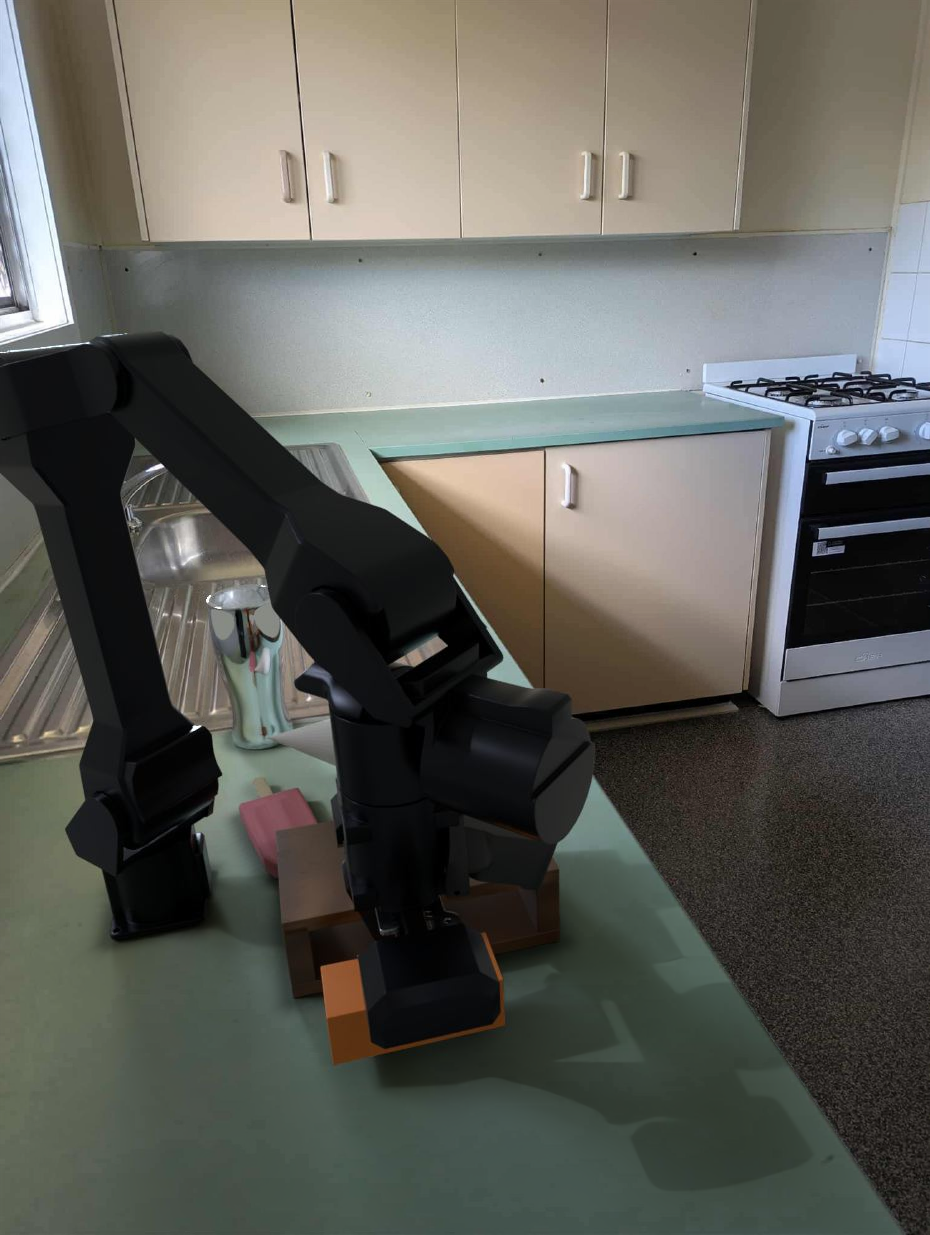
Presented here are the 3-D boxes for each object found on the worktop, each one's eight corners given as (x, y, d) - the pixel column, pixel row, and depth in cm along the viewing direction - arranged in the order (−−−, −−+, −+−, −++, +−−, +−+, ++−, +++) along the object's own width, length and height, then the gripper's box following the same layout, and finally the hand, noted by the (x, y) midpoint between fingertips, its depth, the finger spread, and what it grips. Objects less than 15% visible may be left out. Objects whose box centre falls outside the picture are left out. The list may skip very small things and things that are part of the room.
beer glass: (214, 746, 87) (188, 605, 81) (253, 714, 93) (232, 580, 87) (274, 756, 84) (252, 612, 79) (311, 723, 90) (293, 586, 84)
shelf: (293, 998, 56) (281, 923, 54) (285, 898, 65) (275, 830, 63) (560, 941, 59) (559, 868, 57) (517, 853, 69) (515, 788, 66)
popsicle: (285, 763, 80) (337, 851, 67) (287, 778, 80) (339, 868, 68) (227, 779, 78) (268, 873, 65) (229, 794, 78) (271, 890, 66)
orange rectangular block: (333, 1065, 49) (326, 1018, 47) (326, 1011, 52) (320, 966, 51) (505, 1026, 51) (503, 979, 49) (487, 976, 54) (485, 931, 53)
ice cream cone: (265, 776, 81) (426, 782, 83) (261, 766, 75) (435, 773, 77) (270, 711, 82) (428, 718, 85) (267, 696, 77) (436, 705, 79)
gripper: (607, 855, 39) (603, 1109, 44) (494, 679, 55) (502, 879, 61) (355, 905, 36) (385, 1165, 42) (318, 705, 53) (343, 911, 59)
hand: (413, 1005), depth 51 cm, fingers closed on orange rectangular block, 4 cm apart
